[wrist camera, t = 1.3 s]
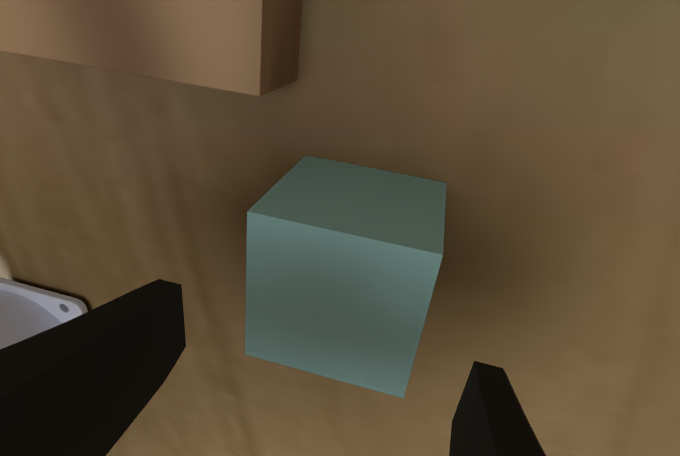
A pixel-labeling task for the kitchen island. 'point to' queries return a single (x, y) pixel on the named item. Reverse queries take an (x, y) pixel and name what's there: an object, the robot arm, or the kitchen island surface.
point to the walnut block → (164, 38)
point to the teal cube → (343, 271)
